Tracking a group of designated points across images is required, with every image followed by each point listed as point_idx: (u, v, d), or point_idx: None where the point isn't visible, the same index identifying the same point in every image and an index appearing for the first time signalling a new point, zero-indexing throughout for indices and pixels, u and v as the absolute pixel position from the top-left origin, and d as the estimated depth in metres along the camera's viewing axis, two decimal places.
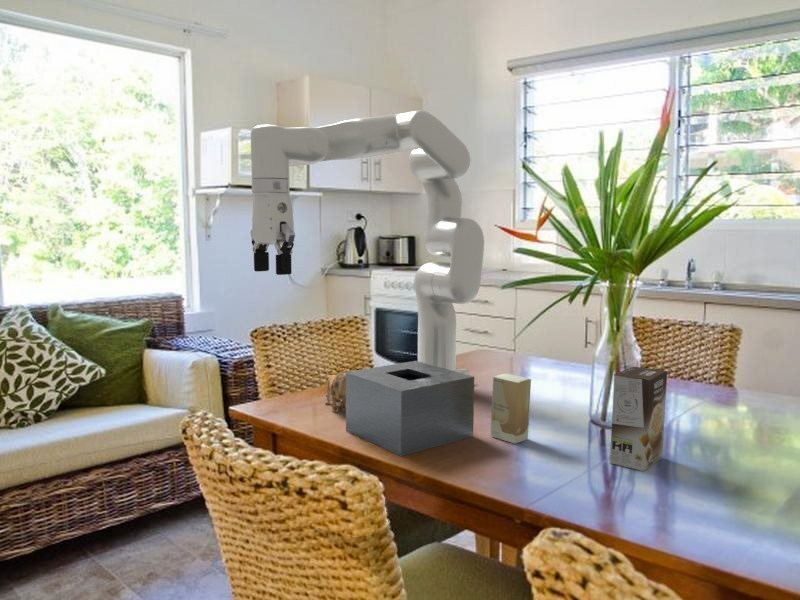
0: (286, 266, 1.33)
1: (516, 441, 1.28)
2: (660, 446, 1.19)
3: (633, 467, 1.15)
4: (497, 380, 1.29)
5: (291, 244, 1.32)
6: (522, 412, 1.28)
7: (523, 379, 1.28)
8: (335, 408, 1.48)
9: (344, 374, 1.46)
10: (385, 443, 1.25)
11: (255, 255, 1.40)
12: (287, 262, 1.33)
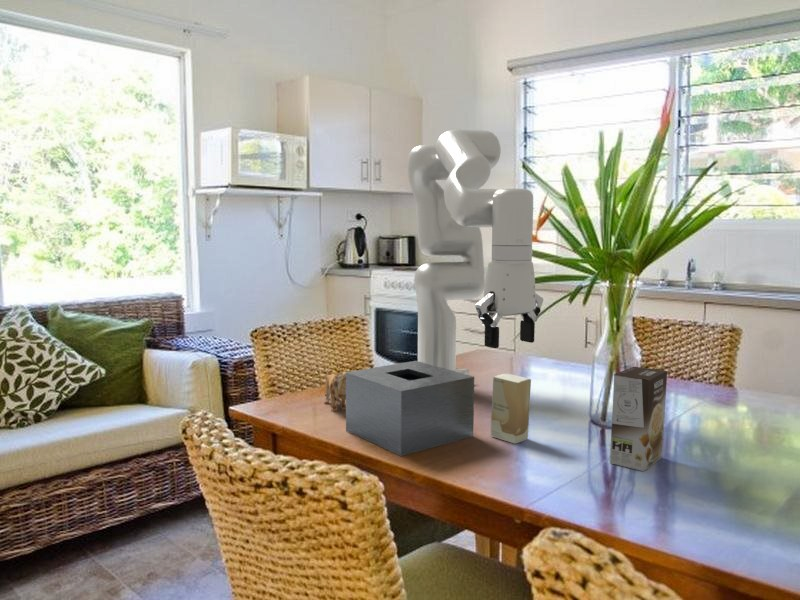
0: None
1: (516, 441, 1.28)
2: (660, 446, 1.19)
3: (633, 467, 1.15)
4: (497, 380, 1.29)
5: None
6: (522, 412, 1.28)
7: (523, 379, 1.28)
8: (334, 407, 1.49)
9: (343, 373, 1.46)
10: (385, 443, 1.25)
11: (498, 330, 1.24)
12: None
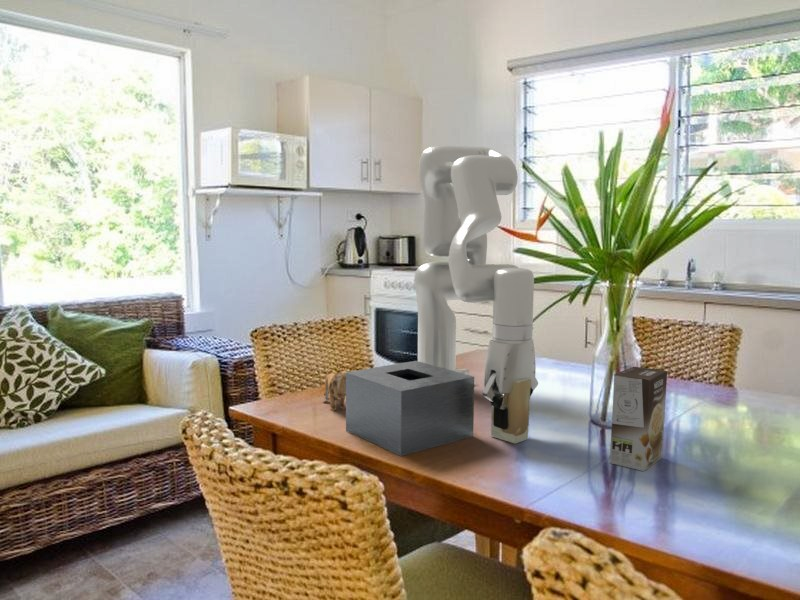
0: None
1: (516, 441, 1.28)
2: (660, 446, 1.19)
3: (633, 467, 1.15)
4: None
5: None
6: (522, 412, 1.28)
7: (523, 379, 1.28)
8: (333, 406, 1.50)
9: (342, 372, 1.47)
10: (385, 443, 1.25)
11: (507, 412, 1.28)
12: None
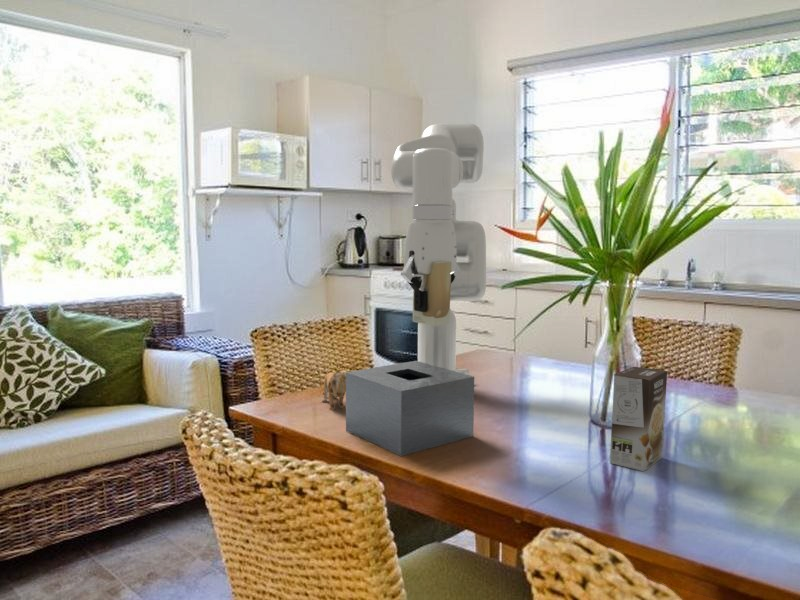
0: None
1: (436, 323, 1.27)
2: (660, 446, 1.19)
3: (633, 467, 1.15)
4: None
5: None
6: (442, 294, 1.27)
7: (443, 261, 1.27)
8: (332, 405, 1.50)
9: (341, 372, 1.48)
10: (385, 443, 1.25)
11: (426, 294, 1.27)
12: None
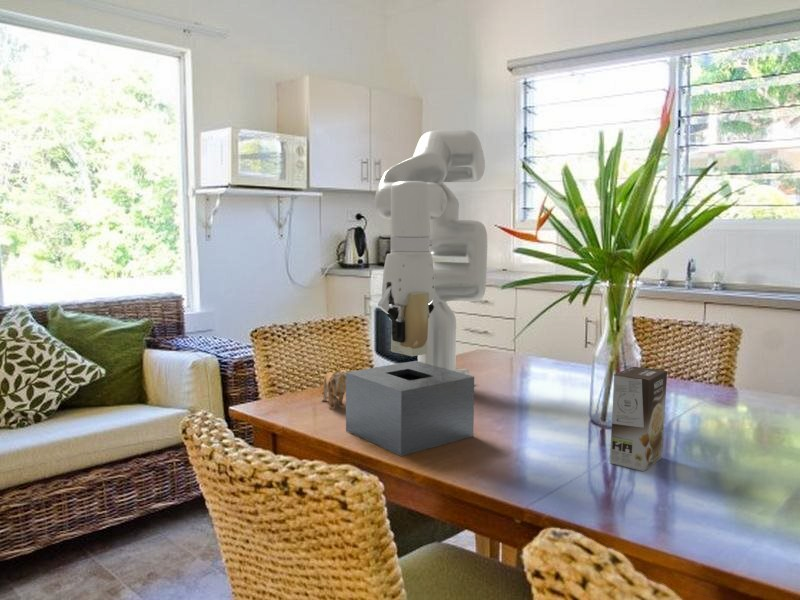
0: None
1: (413, 354, 1.28)
2: (660, 446, 1.19)
3: (633, 467, 1.15)
4: None
5: None
6: (419, 325, 1.28)
7: (421, 292, 1.28)
8: (332, 405, 1.51)
9: (341, 371, 1.48)
10: (385, 443, 1.25)
11: (404, 325, 1.28)
12: None
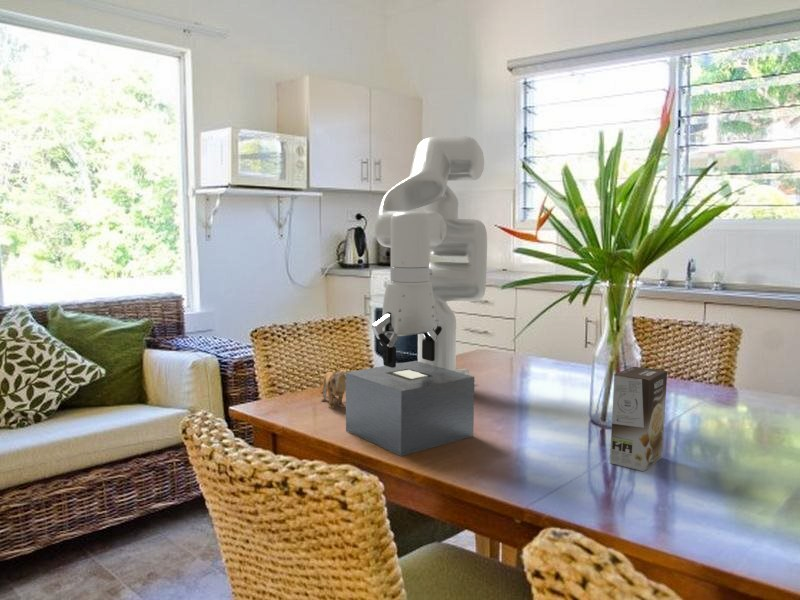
0: None
1: None
2: (660, 446, 1.19)
3: (633, 467, 1.15)
4: None
5: None
6: None
7: (419, 376, 1.30)
8: (332, 404, 1.51)
9: (341, 371, 1.49)
10: (385, 443, 1.25)
11: (395, 350, 1.27)
12: None
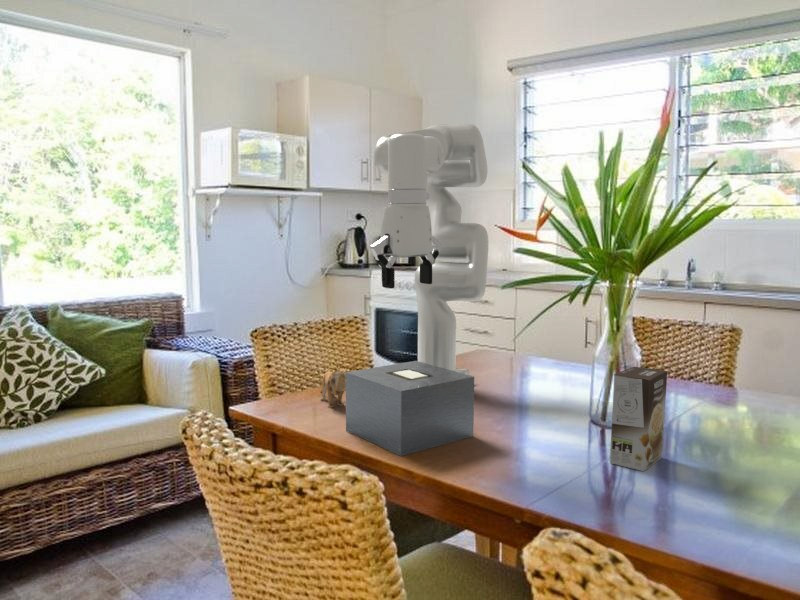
0: None
1: None
2: (660, 446, 1.19)
3: (633, 467, 1.15)
4: None
5: None
6: None
7: (419, 376, 1.31)
8: (331, 404, 1.52)
9: (340, 370, 1.49)
10: (385, 443, 1.25)
11: (393, 271, 1.30)
12: None
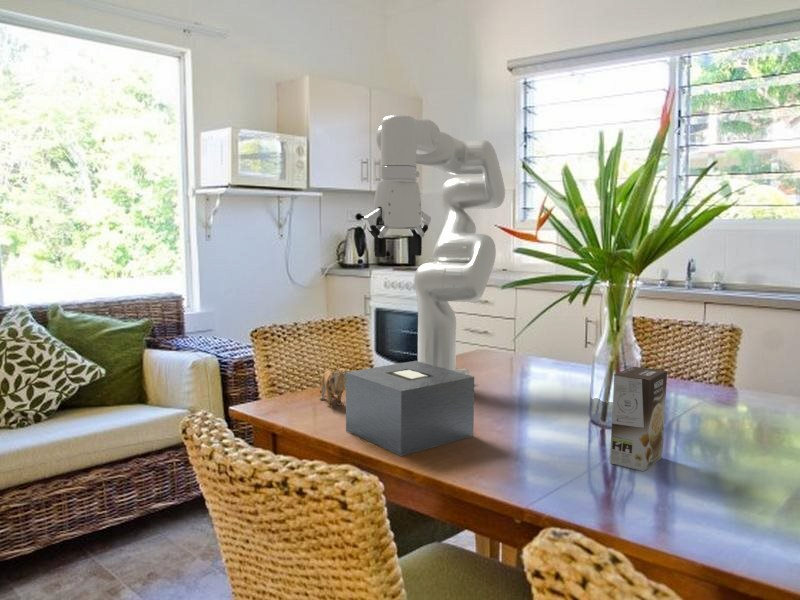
0: None
1: None
2: (660, 446, 1.19)
3: (633, 467, 1.15)
4: None
5: None
6: None
7: (419, 376, 1.31)
8: (331, 403, 1.52)
9: (340, 370, 1.50)
10: (385, 443, 1.25)
11: (385, 241, 1.41)
12: None
